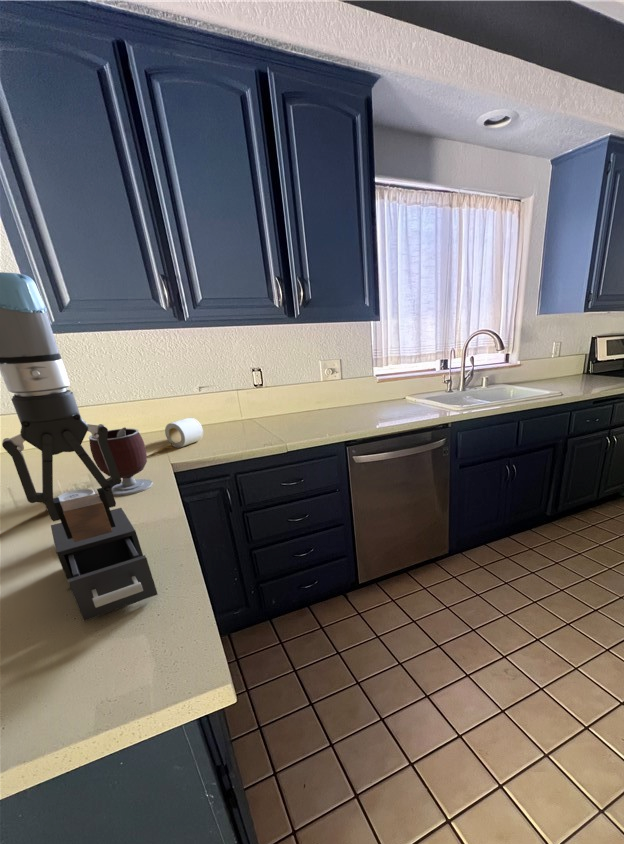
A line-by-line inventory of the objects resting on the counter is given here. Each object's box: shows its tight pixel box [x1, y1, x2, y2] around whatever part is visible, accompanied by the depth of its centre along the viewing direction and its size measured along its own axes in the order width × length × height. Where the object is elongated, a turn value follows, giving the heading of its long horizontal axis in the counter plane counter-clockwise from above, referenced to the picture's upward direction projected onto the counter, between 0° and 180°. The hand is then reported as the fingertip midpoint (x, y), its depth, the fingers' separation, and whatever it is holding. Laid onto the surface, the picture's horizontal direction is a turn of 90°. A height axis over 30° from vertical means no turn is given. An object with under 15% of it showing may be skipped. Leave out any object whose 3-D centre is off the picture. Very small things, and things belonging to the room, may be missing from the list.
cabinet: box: [50, 507, 144, 581], centre depth 87 cm, size 15×13×10 cm
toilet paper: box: [164, 417, 204, 449], centre depth 175 cm, size 10×10×10 cm
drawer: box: [67, 537, 158, 622], centre depth 77 cm, size 18×12×8 cm, turn 39°
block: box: [61, 493, 112, 542], centre depth 72 cm, size 6×6×6 cm
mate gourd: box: [88, 426, 153, 497], centre depth 128 cm, size 16×14×20 cm
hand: (91, 529), depth 73 cm, fingers closed on block, 5 cm apart
